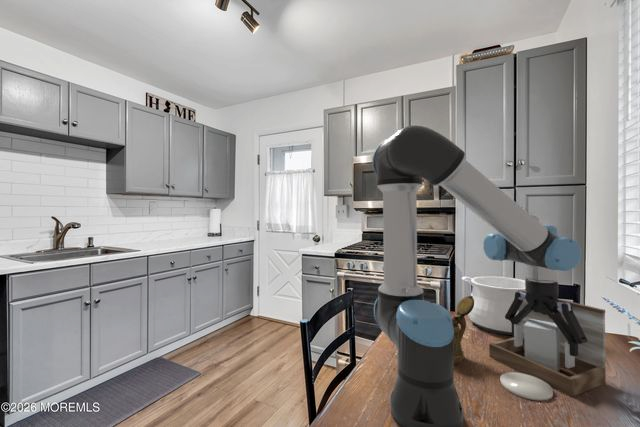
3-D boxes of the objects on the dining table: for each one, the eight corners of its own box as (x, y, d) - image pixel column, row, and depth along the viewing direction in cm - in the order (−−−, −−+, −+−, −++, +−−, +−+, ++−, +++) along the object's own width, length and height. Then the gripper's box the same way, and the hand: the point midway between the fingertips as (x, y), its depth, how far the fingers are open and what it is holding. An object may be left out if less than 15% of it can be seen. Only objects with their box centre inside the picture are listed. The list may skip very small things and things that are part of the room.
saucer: (533, 405, 69) (533, 401, 69) (490, 380, 80) (490, 377, 80) (563, 393, 74) (563, 390, 74) (519, 372, 84) (518, 369, 84)
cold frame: (572, 396, 72) (571, 317, 72) (489, 356, 93) (488, 295, 93) (606, 383, 78) (605, 309, 78) (520, 348, 98) (520, 290, 98)
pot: (458, 329, 115) (457, 283, 115) (465, 310, 136) (465, 271, 136) (551, 345, 100) (551, 292, 100) (544, 322, 121) (543, 278, 121)
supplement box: (560, 368, 85) (560, 323, 85) (557, 379, 80) (556, 331, 80) (529, 360, 90) (528, 317, 90) (524, 369, 85) (523, 324, 85)
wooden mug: (483, 359, 91) (483, 299, 91) (443, 365, 88) (442, 303, 88) (463, 346, 100) (463, 292, 100) (426, 351, 97) (425, 294, 97)
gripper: (604, 288, 75) (605, 374, 75) (508, 270, 98) (509, 336, 98) (586, 291, 72) (587, 381, 72) (491, 273, 95) (492, 340, 95)
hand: (542, 355), depth 85 cm, fingers open, 13 cm apart
